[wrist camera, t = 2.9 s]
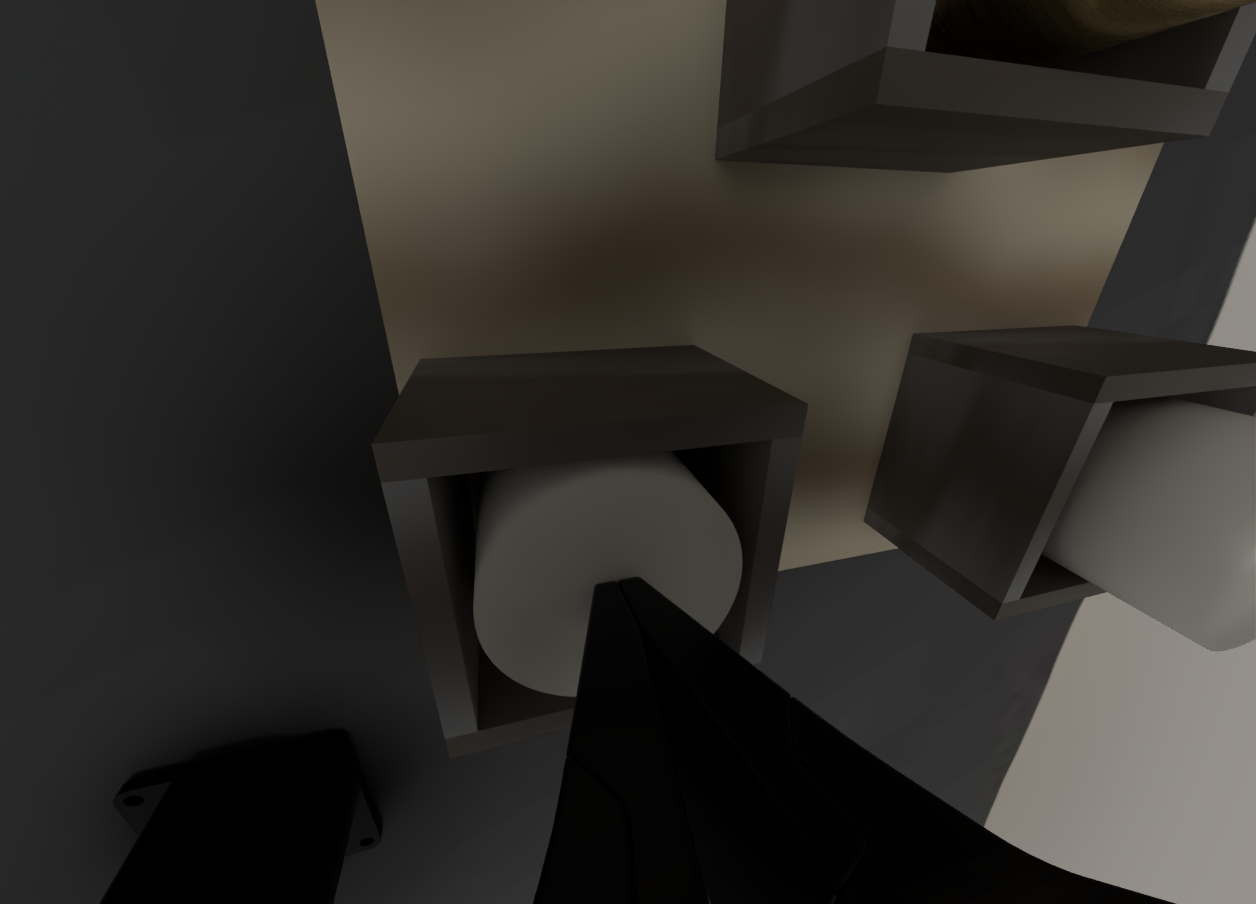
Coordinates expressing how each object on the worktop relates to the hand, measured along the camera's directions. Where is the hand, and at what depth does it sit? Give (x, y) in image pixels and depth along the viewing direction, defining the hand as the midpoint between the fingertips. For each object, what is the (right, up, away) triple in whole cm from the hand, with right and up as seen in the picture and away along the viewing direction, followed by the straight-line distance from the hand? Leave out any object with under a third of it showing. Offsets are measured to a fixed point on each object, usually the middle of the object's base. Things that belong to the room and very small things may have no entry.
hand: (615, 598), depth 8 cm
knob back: (+13, +2, +5) cm, 14 cm away
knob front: (-1, +2, +4) cm, 5 cm away
